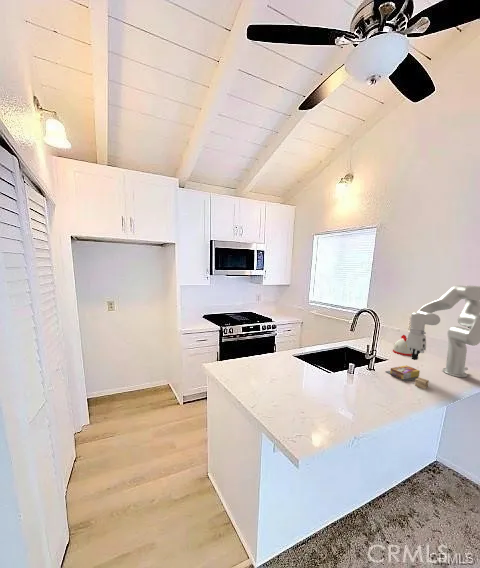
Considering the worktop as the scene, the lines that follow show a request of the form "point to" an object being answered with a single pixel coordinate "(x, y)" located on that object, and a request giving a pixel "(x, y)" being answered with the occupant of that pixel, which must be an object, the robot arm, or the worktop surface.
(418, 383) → the oak block
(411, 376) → the candy box
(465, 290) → the robot arm
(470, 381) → the worktop surface
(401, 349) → the kitchen timer
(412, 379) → the mat
